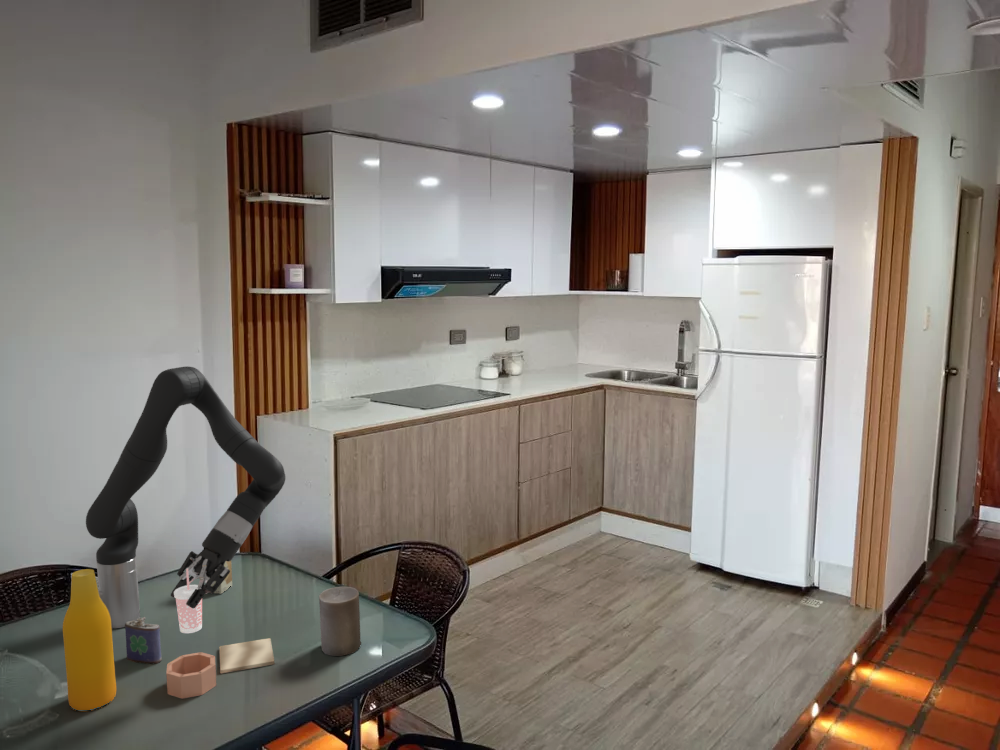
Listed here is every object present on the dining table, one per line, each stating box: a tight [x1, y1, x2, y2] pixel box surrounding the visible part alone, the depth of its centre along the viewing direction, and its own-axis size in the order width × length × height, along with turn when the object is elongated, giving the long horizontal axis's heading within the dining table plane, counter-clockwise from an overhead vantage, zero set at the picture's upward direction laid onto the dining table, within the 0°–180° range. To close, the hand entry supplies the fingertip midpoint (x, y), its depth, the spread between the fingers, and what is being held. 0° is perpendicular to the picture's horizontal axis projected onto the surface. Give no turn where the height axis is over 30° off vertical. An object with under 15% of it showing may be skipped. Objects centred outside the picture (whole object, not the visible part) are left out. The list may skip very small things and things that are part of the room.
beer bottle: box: [62, 568, 117, 711], centre depth 166 cm, size 9×9×29 cm
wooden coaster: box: [219, 637, 275, 674], centre depth 186 cm, size 12×12×1 cm
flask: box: [124, 616, 162, 665], centre depth 184 cm, size 9×3×11 cm, turn 74°
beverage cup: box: [174, 567, 203, 634], centre depth 171 cm, size 6×6×14 cm
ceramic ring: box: [165, 651, 217, 699], centre depth 174 cm, size 10×10×5 cm
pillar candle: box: [318, 586, 362, 657], centre depth 190 cm, size 10×10×15 cm
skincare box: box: [211, 560, 233, 595], centre depth 224 cm, size 6×4×12 cm
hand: (182, 602), depth 170 cm, fingers closed on beverage cup, 6 cm apart
